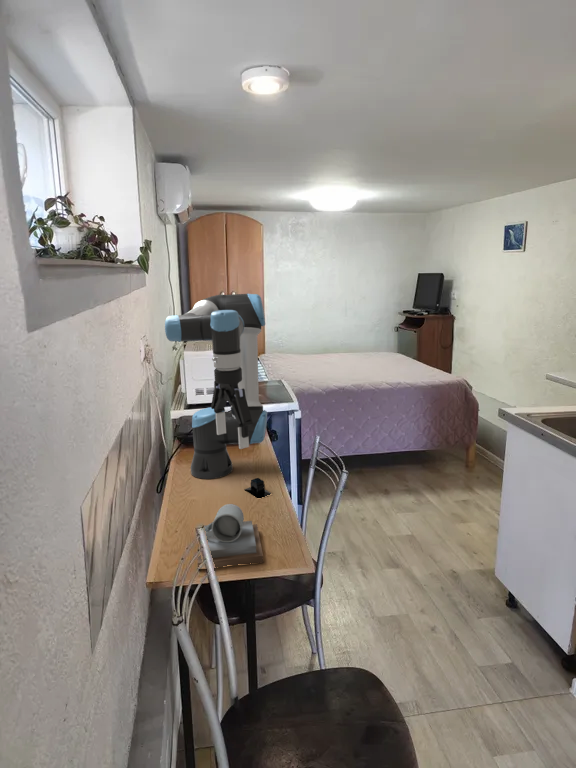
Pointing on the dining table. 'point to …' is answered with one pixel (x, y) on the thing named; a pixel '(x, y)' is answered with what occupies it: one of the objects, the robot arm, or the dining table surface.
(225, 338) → the robot arm
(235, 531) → the ceramic mug
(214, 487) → the dining table surface
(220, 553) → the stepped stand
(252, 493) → the black angular block
